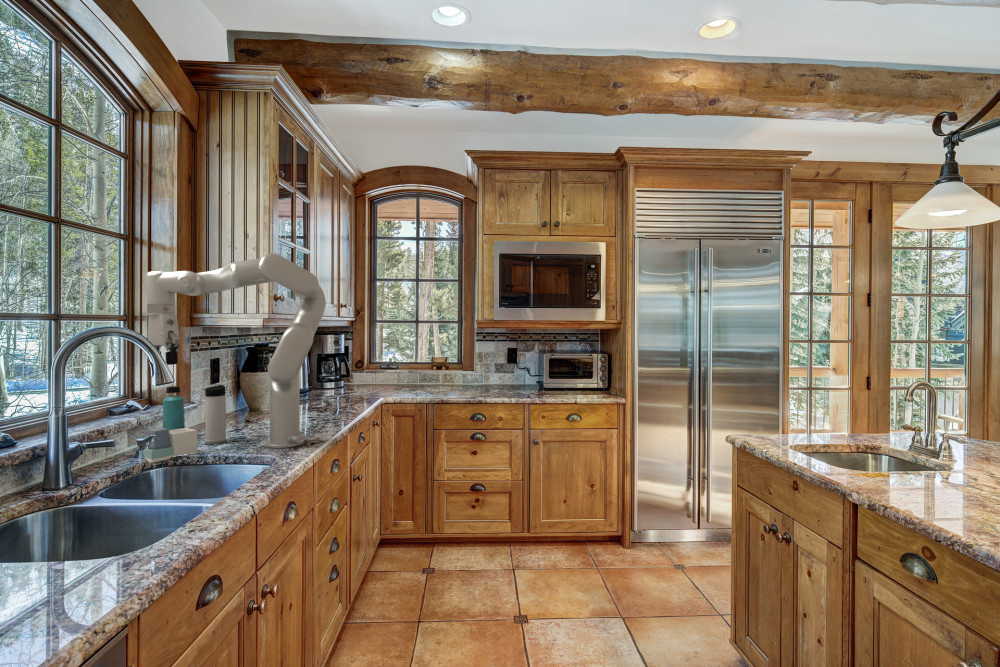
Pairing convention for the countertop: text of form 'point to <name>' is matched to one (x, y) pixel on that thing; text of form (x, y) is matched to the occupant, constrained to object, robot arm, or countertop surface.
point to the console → (174, 445)
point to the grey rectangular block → (163, 438)
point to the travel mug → (215, 415)
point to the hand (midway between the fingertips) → (163, 364)
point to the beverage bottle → (173, 410)
